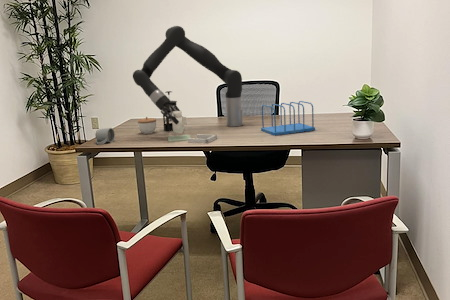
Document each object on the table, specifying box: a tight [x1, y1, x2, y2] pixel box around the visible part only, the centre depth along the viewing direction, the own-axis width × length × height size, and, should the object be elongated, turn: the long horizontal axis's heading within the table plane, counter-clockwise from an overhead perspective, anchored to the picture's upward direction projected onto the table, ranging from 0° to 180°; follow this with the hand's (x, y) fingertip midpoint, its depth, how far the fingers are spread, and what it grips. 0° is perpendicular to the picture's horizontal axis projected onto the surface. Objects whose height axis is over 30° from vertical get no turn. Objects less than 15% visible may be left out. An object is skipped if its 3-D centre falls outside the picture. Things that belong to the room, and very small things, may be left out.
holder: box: [187, 133, 218, 144], centre depth 235 cm, size 11×11×2 cm
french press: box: [162, 90, 178, 132], centre depth 267 cm, size 12×9×23 cm
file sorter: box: [260, 100, 316, 136], centre depth 248 cm, size 25×17×15 cm
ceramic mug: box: [95, 127, 116, 146], centre depth 241 cm, size 11×8×8 cm
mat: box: [167, 134, 192, 143], centre depth 243 cm, size 12×12×1 cm
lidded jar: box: [137, 116, 157, 135], centre depth 262 cm, size 11×11×9 cm
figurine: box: [171, 110, 187, 134], centre depth 240 cm, size 8×6×11 cm
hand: (180, 122), depth 240 cm, fingers closed on figurine, 6 cm apart
